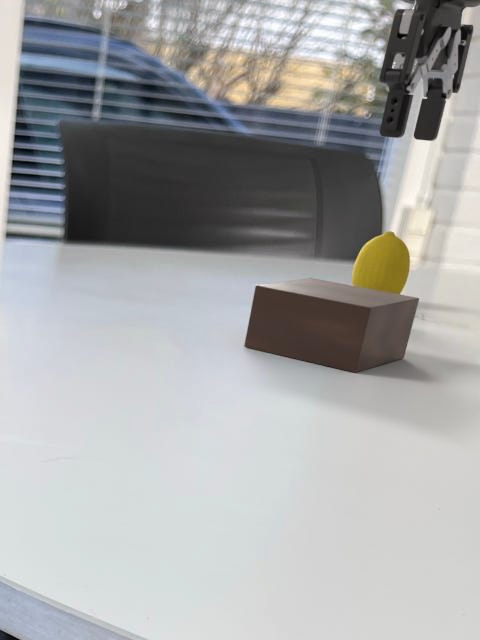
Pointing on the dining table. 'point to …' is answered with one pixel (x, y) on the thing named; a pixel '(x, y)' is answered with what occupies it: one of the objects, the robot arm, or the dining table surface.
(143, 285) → the dining table surface
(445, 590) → the dining table surface
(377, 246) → the lemon
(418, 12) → the robot arm
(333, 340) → the block
